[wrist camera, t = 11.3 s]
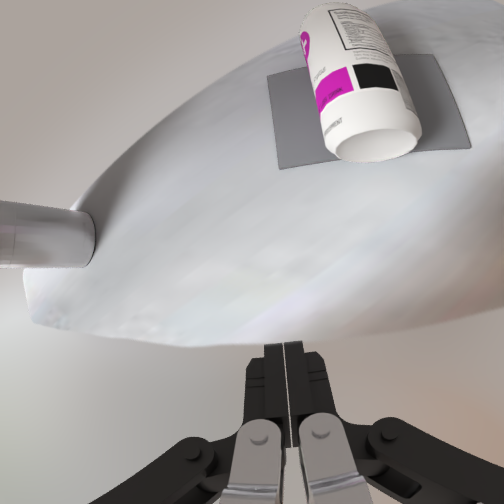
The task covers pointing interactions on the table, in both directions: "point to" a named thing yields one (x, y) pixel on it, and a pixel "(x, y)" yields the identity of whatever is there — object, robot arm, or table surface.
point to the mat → (309, 125)
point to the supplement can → (357, 86)
